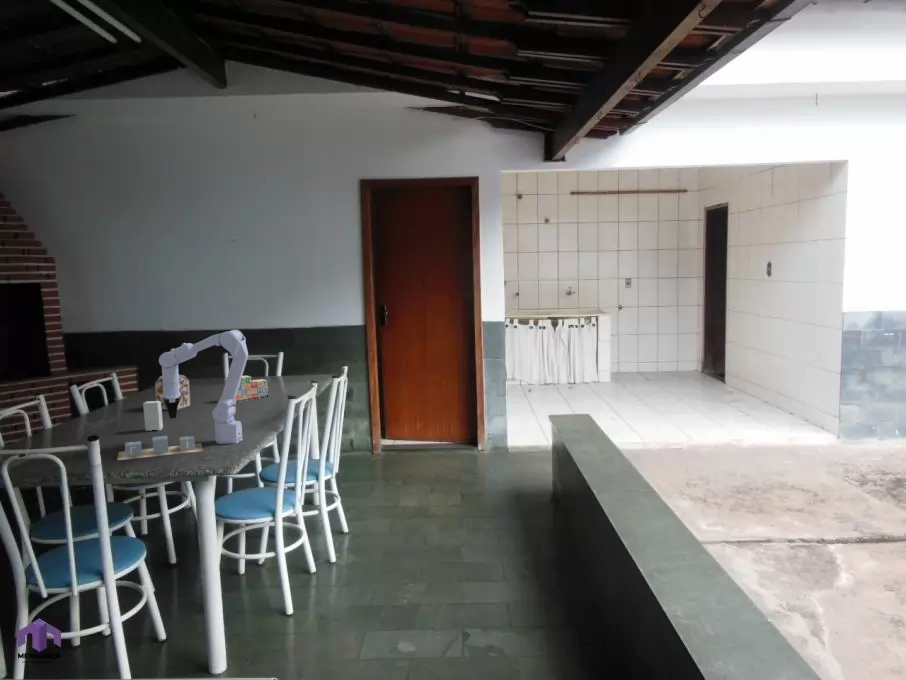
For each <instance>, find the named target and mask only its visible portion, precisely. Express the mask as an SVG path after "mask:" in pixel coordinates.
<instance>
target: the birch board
mask: <svg viewBox="0 0 906 680" xmlns="http://www.w3.org/2000/svg"><path fill="white" fill-rule="evenodd" d="M197 452H203V446H202V443H195V449H194V450H184V451H180V445H174V446H173V445H172V446H168V452H166V453H157V454H153V447H152V448H145V449H144V448H143V449H142V448H141V455H139V456H130V457H126V456H125V450H124V451H118V455H117V458H116V460H117V461H124V460H135V459H143V458H144V459H145V458H150V457H151V458H152V457H160V456H168V455H178V454H179V455H180V454H188V453H197Z"/></svg>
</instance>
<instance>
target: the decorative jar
mask: <svg viewBox="0 0 906 680" xmlns="http://www.w3.org/2000/svg"><path fill="white" fill-rule="evenodd" d="M154 384H155V385H154V387H155V390H154V392H155V401H161V410H162V411H168V409H167V407H166V405H165V403H164V400H168V399H167V398H164V397H160V395H163V378H162V375H161V376H159V377H158V378H157V380H156V381H155V382H154ZM179 392H180V396H179V397H177V398H180V402H179V404H178V407H177V411H179V410H182V409H185V408H187V407H190V406H191V395H190V394H191V393H190V392H191V390H190V379H188V378H187V376H185V375H184V374H179Z"/></svg>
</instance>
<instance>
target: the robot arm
mask: <svg viewBox="0 0 906 680" xmlns="http://www.w3.org/2000/svg"><path fill="white" fill-rule="evenodd" d="M246 339H247V338H246V337H245V336H244V334H243V333H242V331H240V330H239V329H231V330H230V331H224V332H221V333H217V334H213V335H211V336H209V337H207V338H205V339H202V340H201V341H199V342H196V343H190V342H188V343H186V342H183V343H182V344H181V346H179V347H176V348H171V349H170V351H166V352H163V353H162V354H161V355H160V356H159V358H158V363H159V365H160V366H161V373H162V375H161V376H162V378H163V395H160V397H164V398H167V399H168V400H164V403H165V405H166V407H167V409H168V410H167V413H168V417H169V419H176V418H177V411H178V410H177V407H178V404H179V402H180V398H177V397H179V396H180V392H179V375H180V374H179V364H181V363H184V362H186V361H189V360H191V359H193V358H195V357H197V354H198V352H201V351H203V350H205V349H207V348H210V347H213V346H216V347H217V346H218V347H220V346H222V348H224V349H225V350H226V351H227V352H229V354H230V355H231V357H232V361H231V364H230V367H229V371H228V374H227V377H226V378H227V380H226V383H224V384H225V387H224V386H223V390H222V393H221V396H220V398H219V399H218V401H217V404H216V406H215V407H214V408H213V410H212V411H211V412H212V413H211V416H212V419H213V420H214V431H215V432H214V433H215V435H214V436H215V443H216V444H220V445H223V444H238V443H239V442H241V441H243V426H242V422H241V421H239V420H235V415H236V412H237V409H236V408H237V407H236V406H237V405H236V403H237V402H236V394H237V391H238V388H239V385H240V381H241V378H242V376H244V375H243V374H244V372H245V368H246V365H247V361H248V358H249V352H248V346H247V344H246V343H247V341H246Z"/></svg>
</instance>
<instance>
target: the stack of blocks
mask: <svg viewBox="0 0 906 680" xmlns="http://www.w3.org/2000/svg"><path fill="white" fill-rule="evenodd" d="M226 380H227V377H226V378H224V381H223V382H224V386H223V388H224V387H225V383H226ZM268 383H269V381H268V380H267V379H263V378H261V379H253V377H252V376H250V375H242V378H241V381H240V385H239V388H238V391H237V394H236V401H237V400H243V399H248V398H253V397H260V396H265V395H268V396H269V384H268Z"/></svg>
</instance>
